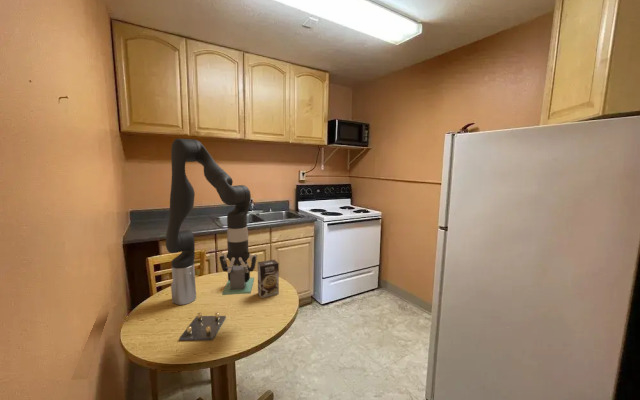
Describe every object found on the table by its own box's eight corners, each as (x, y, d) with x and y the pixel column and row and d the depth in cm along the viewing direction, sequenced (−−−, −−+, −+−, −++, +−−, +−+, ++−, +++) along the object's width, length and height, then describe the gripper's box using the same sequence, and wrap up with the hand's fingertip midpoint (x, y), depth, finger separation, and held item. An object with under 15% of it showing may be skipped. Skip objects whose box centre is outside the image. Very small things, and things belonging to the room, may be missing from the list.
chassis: (179, 340, 95) (178, 331, 95) (196, 318, 109) (196, 310, 109) (212, 340, 96) (212, 331, 95) (225, 318, 110) (225, 310, 109)
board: (222, 295, 95) (221, 277, 94) (228, 280, 107) (228, 264, 106) (250, 293, 96) (250, 275, 95) (254, 279, 108) (253, 263, 107)
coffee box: (261, 298, 126) (260, 266, 124) (257, 292, 131) (256, 261, 129) (279, 294, 130) (278, 263, 128) (275, 288, 136) (274, 258, 133)
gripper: (214, 241, 95) (216, 285, 97) (254, 241, 95) (255, 285, 98) (222, 235, 103) (223, 277, 105) (259, 235, 103) (259, 277, 105)
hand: (239, 281), depth 101 cm, fingers closed on board, 5 cm apart
